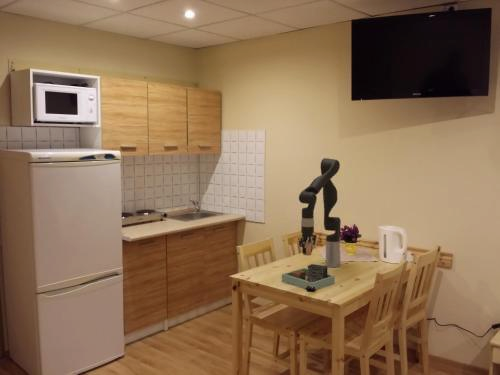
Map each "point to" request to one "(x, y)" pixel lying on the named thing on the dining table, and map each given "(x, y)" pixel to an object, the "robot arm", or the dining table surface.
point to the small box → (317, 272)
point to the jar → (308, 249)
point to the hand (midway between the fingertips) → (307, 252)
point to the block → (299, 274)
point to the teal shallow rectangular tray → (303, 283)
